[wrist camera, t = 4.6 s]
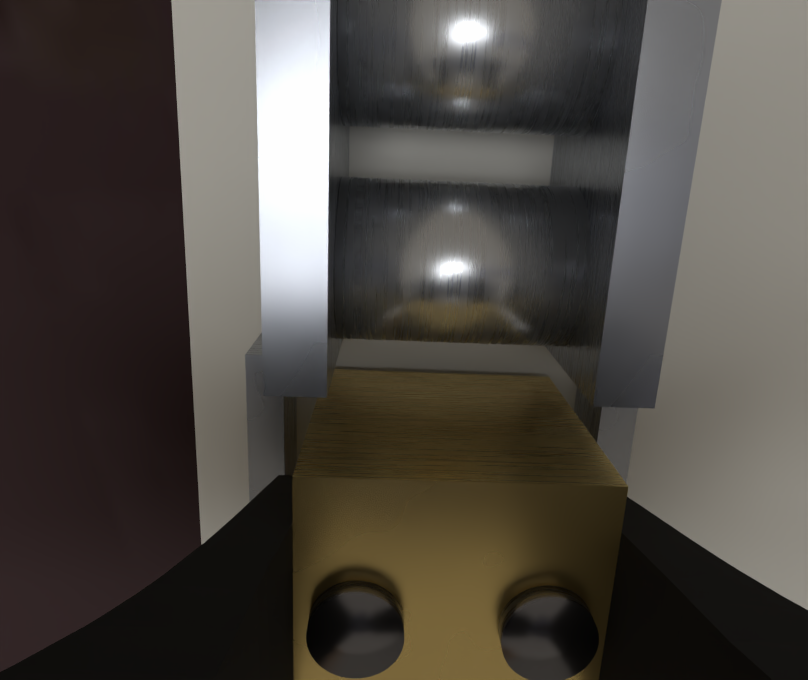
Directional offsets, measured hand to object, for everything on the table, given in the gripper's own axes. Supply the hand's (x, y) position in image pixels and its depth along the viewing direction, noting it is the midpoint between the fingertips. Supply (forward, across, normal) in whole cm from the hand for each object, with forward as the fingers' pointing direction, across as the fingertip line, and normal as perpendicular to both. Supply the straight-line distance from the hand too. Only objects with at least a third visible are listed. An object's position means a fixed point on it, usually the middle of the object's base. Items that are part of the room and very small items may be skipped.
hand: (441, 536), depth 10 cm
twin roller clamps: (+2, 0, 0) cm, 2 cm away
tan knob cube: (+2, 0, 0) cm, 2 cm away
